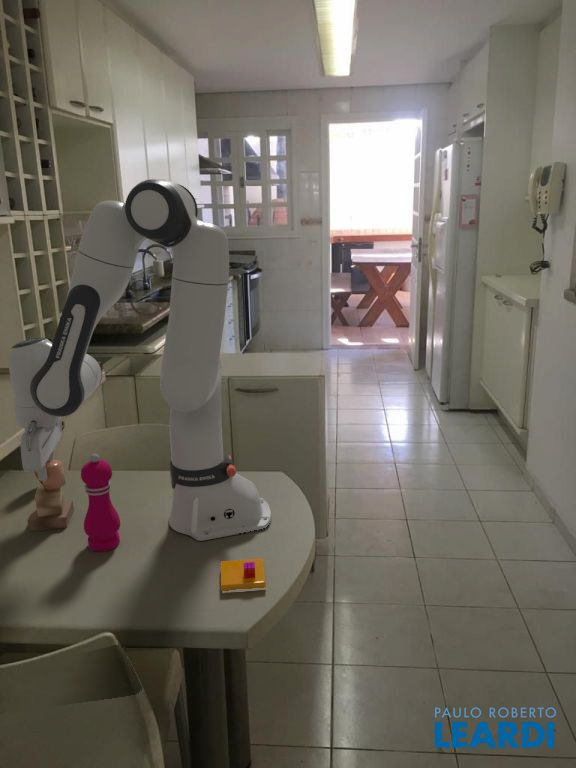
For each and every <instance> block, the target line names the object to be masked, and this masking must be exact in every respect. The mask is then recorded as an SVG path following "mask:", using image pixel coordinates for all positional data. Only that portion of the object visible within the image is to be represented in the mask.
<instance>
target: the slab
mask: <svg viewBox="0 0 576 768" xmlns="http://www.w3.org/2000/svg"><path fill="white" fill-rule="evenodd" d="M74 507H75V506H74V501H73V499H72V500H70V499H69V500H64V507H63V512H62V514H57V515H50V516H42V517H38V514H37V507H36V504H35V505H34V507H33V509H32V511H31V513H30V514H29V516H28V518H27V521H26V522H27V526H28V531H40V530H41V531H42V530H54V529H66V528H68V527H69V524H70V522H71V519H72V516H73V515H74V514H73V513H74V511H75V508H74Z"/></svg>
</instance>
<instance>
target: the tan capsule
mask: <svg viewBox="0 0 576 768" xmlns="http://www.w3.org/2000/svg"><path fill="white" fill-rule="evenodd" d="M46 470H48V478H47V480H45V481H43V485H42V486H43V487H44V489H47V490H53V489H58V488H60V487H62V488H63V487H64V486H65V485H66V483H67V482H66V479H65V473H64V472H65V471H64V467H63V461H62V460H60V459H54V460H50V461H47V462H46Z"/></svg>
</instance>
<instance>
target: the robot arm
mask: <svg viewBox="0 0 576 768" xmlns="http://www.w3.org/2000/svg"><path fill="white" fill-rule="evenodd" d="M198 212H199V211H198V204H197V201H196V198H195V196H194V195H193V193H192V192H191V191H190V190H189V189H188V188H187V187H185V186H183V185H181V184H179V183H177V182H175V181H172V180H169V179H163V178H161V179H159V178H158V179H157V178H152V179H146V180H143V181H141V182H139V183H137V184H136V185H135V186H134V187H132V189H131V190H130V191H129V193H128V194H127V196H126V199H125V202H122V201H119V200H108V199H107V200H102V201H100V202H98V203H96V204H95V205H94V207H93V208H92V210H91V212H90V214H89V216H88V219H87V220H86V224H85V226H84V227H83V231H82V234H81V237H80V240H79V244H78V248H77V250H76V256H75V260H74V264H73V268H72V273H71V278H70V282H69V287H68V291H67V294H66V298H65V303H64V306H63V309H62V312H61V314H60V318H59V321H58V324H57V327H56V330H55V334H54V337H53V341H51V340H49V339H48V338H46V337H33V338H28V339H26V340H23V341H19V342H17V343H16V344H14V345H13V346H11V348H10V350H9V354H8V366H9V367H8V369H9V378H10V384H11V387H12V389H13V391H14V392H13V393H14V399H13V405H14V413H15V418H16V424H17V426H18V427H20V428H23V429H24V432H23V433H22V435H21V438H20V454H21V455H20V456H21V465H22V469H23V471H24V472H25V473H31V472H33V473H34V471H36V472H37V474H38V479H37V480H38V481H39V480H40V481H45V480H47V478H48V470H46V462H47V461H50V460H55V448H56V447H57V445H58V443H59V441H60V440H61V438H62V432H63V428H62V427H63V425H62V417H67V416H71V415H72V414H73V413H75V412H76V411H77V410H78V409H79V408H80V406H81V405H82V404H83V402H85V400H86V399H88V398H89V397H90V396H91V395H92V394H93V392H95V391H96V390H97V388H99V386H100V384H101V382H102V379H103V370H102V367H101V365H100V363H99V362H98V360H97V359H96V358H94V356H92V355H91V354H88V353H87V352H88V347H89V345H90V342H91V339H92V337H93V332H94V331H95V329H96V326H97V325H98V323H99V322H100V321H101V319H102V318H103V317H104V315H105V314H107V312H108V311H109V310H110V309H111V308H112V307H113V306H114V305H115V304H116V303H117V302H118V301H119V300H120V299H121V298H122V296H123V295H124V292H125V291H126V289H127V287H128V285H129V283H130V280H131V278H132V275H133V273H134V269H135V264H136V260H137V256H138V254H139V251H140V248H141V246H142V244H143V243H144V242H145V241H146V240H147V239H148V240H149V241H153V243H154V242H155V243H157V244H158V245H161V246H163V247H165V248H170V249H171V251H172V256H173V257H172V258H173V259H172V260H173V263H172V276H171V287H170V288H171V289H170V300H169V301H170V302H169V310H168V311H169V313H168V321H167V326H166V333H165V340H164V346H163V353H162V361H161V366H160V367H161V369H160V377H159V378H160V379H159V389H160V394H161V397H162V398H163V400H164V402H165V403H166V404H167V405H168V406H169V409H170V410H169V424H168V425H169V426H168V430H169V432H168V433H169V443H170V455H171V460H170V462H169V477H170V484H171V488H172V497H171V498H172V500H171V507H170V508H171V510H170V515H169V518H168V524H169V526H170V527H171V529H172V530H174V531H175V532H177V533H180V534H182V535H187V536H190V537H191V538H193V539H194V540H196V541H201V542H202V541H208V540H213V539H218V538H223V537H229V536H234V535H235V536H236V535H240V534H239V533H241V534H244V532H246V533H251V532H255V531H254V530H257V531H260V530H259V529H262V530H264V529H263V528H265V529H267V528H268V527H269V526H270V524H271V522H270V521H272V511H271V507H270V505H269V503H268V502H267V501H266V500H265V499H264V498H262V497H260V493H259V491H258V489H257V487H256V486H255V485H256V484H254V483H253V482H252V481H251V480H249V479H247V478H245V477H244V476H242V475H240V474H239V473H237V468H236V466H235V465H234V461H233V460H232V456H231V455H228V456H226V455H224V446H223V445H224V444H223V423H222V421H223V418H222V416H223V415H222V414H223V413H222V412H223V411H222V410H223V407H222V405H223V394H222V393H223V392H222V391H223V389H222V387H223V386H222V384H223V383H222V362H221V358H220V356H221V355H220V354H221V346H222V339H223V332H224V325H225V319H226V308H227V298H228V288H229V281H230V279H229V278H230V277H229V276H230V250H229V247H230V246H229V240H228V239H229V238H228V235H227V234H226V232H225V230H224V229H222V228H221V227H220V226H218V225H216V224H214V223H212V222H209V221H204V220H203V221H202V220H201V219H199V218H198ZM269 523H270V524H269ZM268 525H269V526H268ZM267 526H268V527H267ZM266 527H267V528H266ZM250 531H251V532H250Z"/></svg>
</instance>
